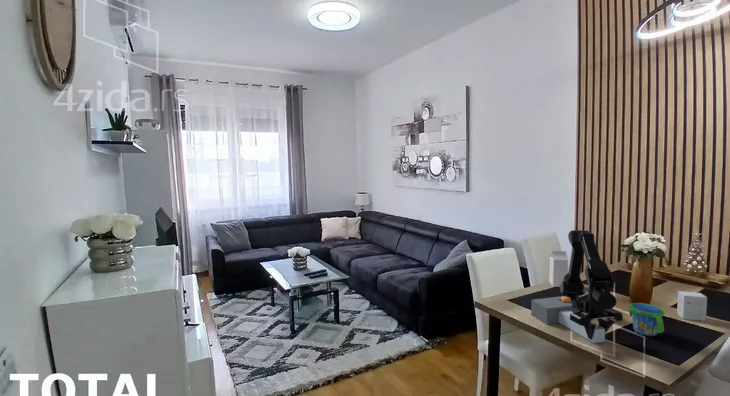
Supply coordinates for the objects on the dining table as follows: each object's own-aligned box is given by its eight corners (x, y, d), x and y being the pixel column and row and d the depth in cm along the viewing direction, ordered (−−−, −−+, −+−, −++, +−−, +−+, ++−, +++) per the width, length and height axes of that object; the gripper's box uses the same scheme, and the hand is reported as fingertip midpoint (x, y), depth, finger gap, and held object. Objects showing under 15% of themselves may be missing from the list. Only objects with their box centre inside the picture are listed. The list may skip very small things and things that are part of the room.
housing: (562, 311, 166) (562, 296, 166) (579, 320, 156) (579, 304, 156) (531, 314, 163) (531, 299, 162) (546, 324, 153) (547, 308, 152)
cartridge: (567, 320, 156) (567, 308, 155) (604, 341, 137) (605, 328, 137) (558, 322, 155) (558, 310, 154) (594, 343, 136) (595, 329, 136)
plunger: (566, 302, 162) (566, 295, 162) (572, 305, 159) (572, 298, 159) (559, 303, 162) (559, 296, 161) (565, 306, 158) (565, 299, 158)
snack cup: (673, 343, 136) (675, 316, 135) (642, 341, 137) (643, 315, 136) (648, 324, 151) (649, 300, 150) (620, 323, 153) (621, 299, 152)
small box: (699, 316, 158) (700, 292, 157) (706, 321, 153) (707, 297, 151) (676, 313, 160) (677, 290, 159) (682, 319, 155) (684, 295, 154)
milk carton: (567, 287, 196) (568, 253, 194) (553, 286, 197) (553, 252, 196) (562, 283, 203) (563, 249, 201) (549, 282, 204) (550, 249, 202)
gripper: (599, 288, 147) (598, 326, 148) (559, 293, 143) (558, 331, 145) (624, 299, 136) (622, 338, 138) (582, 304, 132) (580, 345, 134)
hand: (595, 338), depth 139 cm, fingers closed on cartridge, 4 cm apart
